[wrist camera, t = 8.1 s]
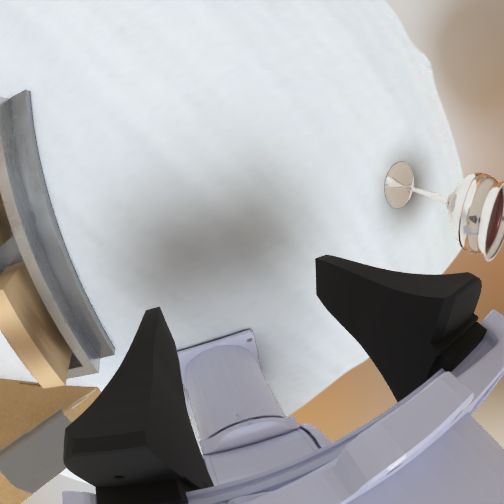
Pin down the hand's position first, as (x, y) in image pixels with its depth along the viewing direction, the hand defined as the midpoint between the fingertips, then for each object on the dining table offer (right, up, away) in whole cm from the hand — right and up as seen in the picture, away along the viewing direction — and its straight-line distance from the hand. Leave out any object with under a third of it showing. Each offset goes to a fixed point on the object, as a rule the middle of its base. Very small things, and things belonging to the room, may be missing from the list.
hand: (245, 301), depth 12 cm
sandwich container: (-23, -15, +9) cm, 29 cm away
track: (-18, +2, +3) cm, 18 cm away
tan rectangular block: (-17, -3, +5) cm, 17 cm away
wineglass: (+15, +9, +13) cm, 22 cm away
